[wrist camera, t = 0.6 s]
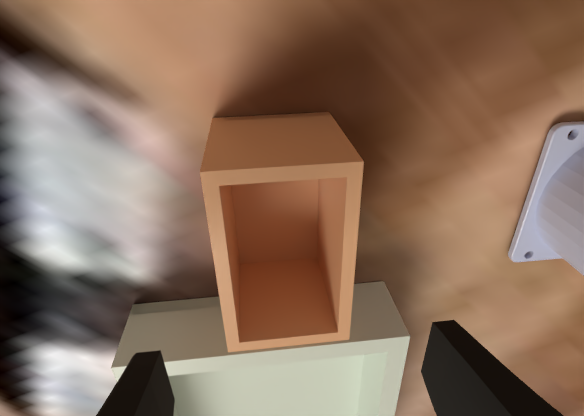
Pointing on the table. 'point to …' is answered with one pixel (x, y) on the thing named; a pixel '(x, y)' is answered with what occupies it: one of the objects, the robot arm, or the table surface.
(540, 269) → the table surface
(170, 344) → the big crate
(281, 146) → the box
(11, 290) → the table surface
